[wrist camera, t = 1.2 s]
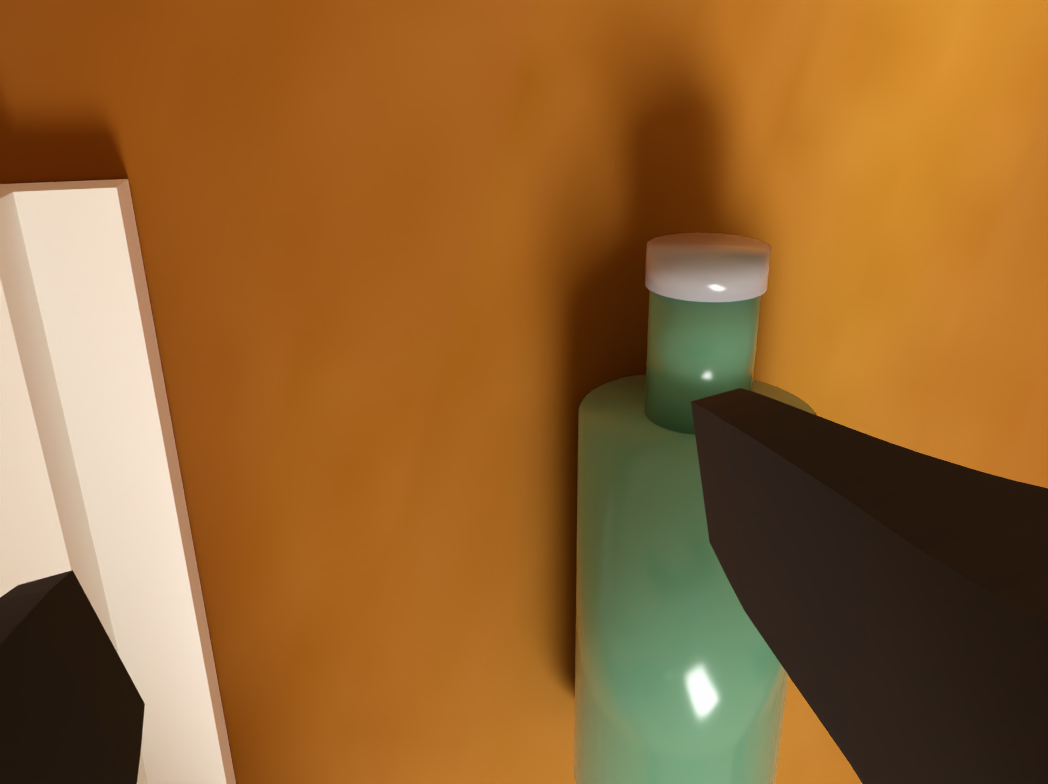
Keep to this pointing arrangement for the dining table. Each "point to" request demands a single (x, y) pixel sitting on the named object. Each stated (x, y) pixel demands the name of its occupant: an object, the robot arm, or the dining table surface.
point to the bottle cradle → (102, 459)
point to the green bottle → (671, 544)
